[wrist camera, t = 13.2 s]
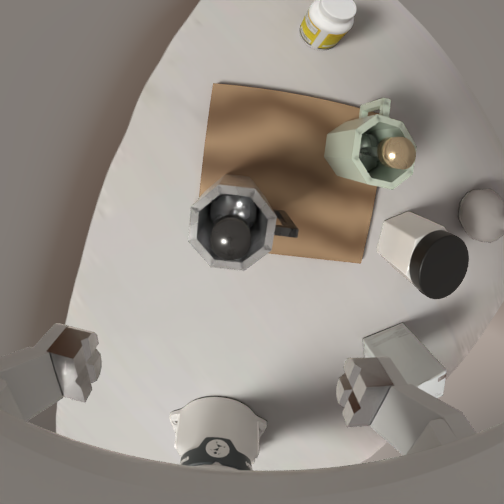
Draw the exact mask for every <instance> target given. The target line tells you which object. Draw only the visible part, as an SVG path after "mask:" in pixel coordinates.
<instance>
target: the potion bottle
mask: <svg viewBox="0 0 504 504" xmlns="http://www.w3.org/2000/svg"><path fill="white" fill-rule="evenodd" d="M458 217H459V220H460V222H461V225H462V227H463V228H464V229H465V232H466V233H467V234H468V235H469V236H470V237H471V238H472V239H475V240H478V241H481V242H488V243H491V242H494V241H496V240H498V239H499V238H500V237H501V236H503V235H504V202H503V201H502V199H501V198H500V196H499V195H498V194H497V193H496V192H494V191H493V190H491V189H482V190H473V191H471V192H467V193H466V195H465V196H464V198H463V199H462V200H461V202H460V207H459V215H458Z"/></svg>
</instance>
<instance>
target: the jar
mask: <svg viewBox="0 0 504 504" xmlns="http://www.w3.org/2000/svg"><path fill="white" fill-rule="evenodd" d="M377 252H378V253H379V254H380V255H381V256H382V257H383V258H384V259H385V260H386V261H387V262H388V263H389V264H390V265H391V266H392V267H393V268H394V269H395V270H396V271H398V272H399V273H400V274H401V275H402V276H403V277H405V278H406V279H407V280H408V281H409V282H410V283H412V284H413V285H414V286H415V287H416V288H417V289H419V291H420V292H421V293H422V294H424V295H426V296H427V297H429V298H432V299H441V298H444V297H446V296H448V295H450V294H451V293H453V292H454V291H455V290H456V289H457V288H458V286H459V285H460V284H461V282H462V281H463V279H464V277H465V274H466V272H467V268H468V262H469V256H468V250H467V247H466V245H465V243H464V242H463V240H462V239H460V238H459V237H457V236H455V235H453V234H451V233H449V232H448V231H447V230H446V229H445V227H444V226H441V225H439V224H437V223H435V222H433V221H430V220H428V219H426V218H423V217H421V216H419V215H416V214H414V213H412V212H409V211H408V212H405V213H403V214H400V215H398V216H395V217H393V218H390V219H388V220H385V221H384V222H383V226H382V230H381V234H380V238H379V242H378V246H377Z"/></svg>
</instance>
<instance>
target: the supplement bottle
mask: <svg viewBox="0 0 504 504" xmlns="http://www.w3.org/2000/svg"><path fill="white" fill-rule="evenodd" d="M356 11H357V9H356V5H355V3H354V1H353V0H315V1H314V2H313V3H312V4H311V6H310V7H309V9H308V11H307V13H306V15H305V17H304V19H303V21H302V23H301V26H300V36H301V38H302V40H303V41H304V43H305V44H307V45H308V46H309V47H311V48H313V49H317V50H328V49H331V48H332V47H334V46H335V45H336V44H337V43H338V42H339V40H340V39H341V38H342V37H343V36H344V35H345V34H346V33H347V32H348V31H349V30H350V29H351V27H352V26H353V23H354V15H355V14H356Z"/></svg>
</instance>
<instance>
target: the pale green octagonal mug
mask: <svg viewBox="0 0 504 504" xmlns="http://www.w3.org/2000/svg"><path fill="white" fill-rule="evenodd" d="M390 104H391V100H390V99H387V98H381V99H378V100H375V101H372V102H369V103H366V104H363V105H360V112H359V119H355V120H351V121H347V122H344V123H343V124H341V125H340V126H338V127H337V128H335V129H334V130H333V131H331V132H330V133H328V134H327V139H326V146H325V153H324V158H325V159H326V161H327V162H328V163H329V165H330V166H331V168H332V169H333V171H334V172H335V174H336V175H337V176H340V177H343V178H347V179H351V180H354V181H358V182H361V183H365V184H369V185H373V186H378V187H383V188H387V189H391V190H393V189H395V188H396V187H397V186H398V185H400V184H401V183H402V182H403V181H405V180H406V179H407V178H408V177H410V176H411V175H412V174H413V169H414V163H415V161H414V163H413V165H412V166H411V167H410V168H408V169H404V170H402V169H396V168H389V167H386V166H384V165H383V164H382V163H381V162H380V161H379V163H378V165H377V166H376V167H375V168H373V169H372V170H369V171H367V170H366V169H365V167H364V165H363V164H362V162H361V161H360V159H359V151H360V144H361V137H362V133H364V132H368V133H370V134H372V135H373V136H375V138H376V139H377V140H378V142H379V143H380V141H381V140H382V139H384V138H387V137H405V138H407V139H409V140H410V141H411V142H412V144H413V145H414V147H415V151H416V148H417V146H416V144H415V143H414V141H413V139H412V137H411V136H410V134H409V132H408V130H407V129H406V127H405V125H404V124H403V122H401V121H398V120H395V119H392V118H389V114H390ZM379 109H380V114H379V115H378V114H376V115H372V116H368V112H371V111H375V110H379Z"/></svg>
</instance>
